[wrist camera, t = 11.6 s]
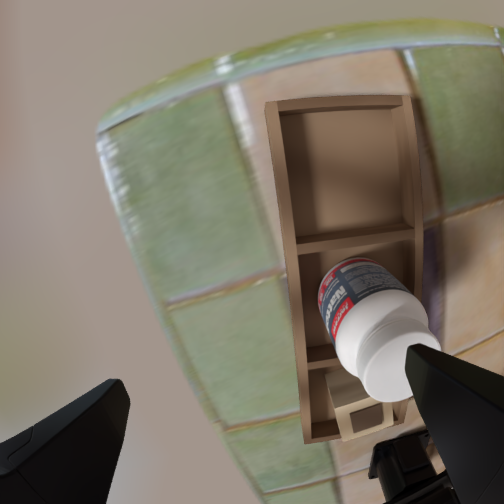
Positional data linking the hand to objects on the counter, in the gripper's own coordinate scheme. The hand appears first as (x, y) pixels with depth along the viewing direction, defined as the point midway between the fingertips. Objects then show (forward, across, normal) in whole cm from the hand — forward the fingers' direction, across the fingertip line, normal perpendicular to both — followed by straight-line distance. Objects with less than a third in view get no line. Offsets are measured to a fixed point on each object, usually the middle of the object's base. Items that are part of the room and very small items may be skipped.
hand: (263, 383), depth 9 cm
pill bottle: (+12, -6, +3) cm, 14 cm away
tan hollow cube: (+12, -6, +11) cm, 17 cm away
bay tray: (+12, -6, +3) cm, 14 cm away
